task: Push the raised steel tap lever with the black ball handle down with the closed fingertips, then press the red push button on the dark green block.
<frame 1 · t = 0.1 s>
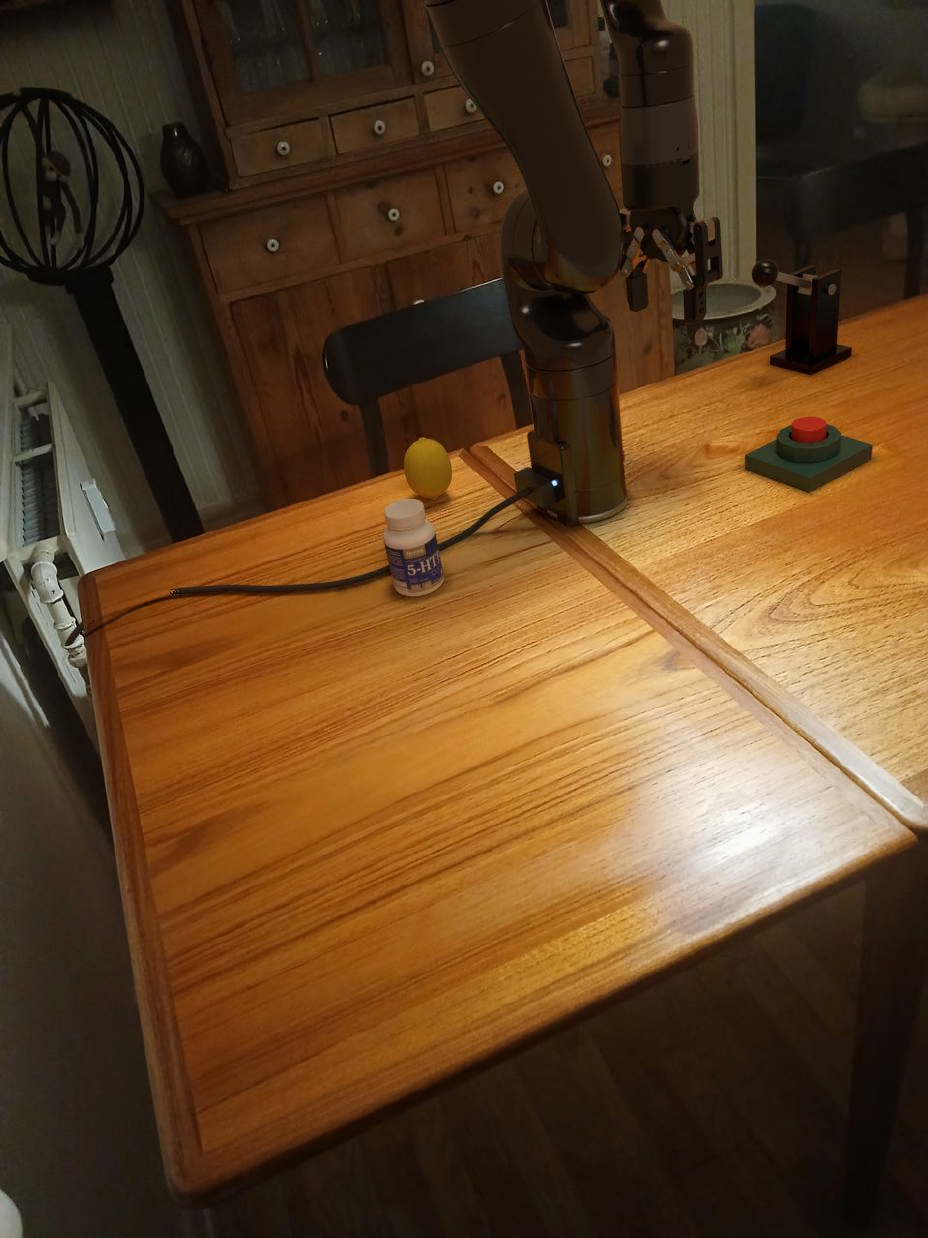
hand: (666, 316, 102), 17 cm above the table, tool pointing down, fingers open, 8 cm apart
lemon: (434, 501, 114), on the table
push button: (808, 430, 104), point 4 cm above the table, slide at 0.1 cm
tap lever: (789, 279, 121), point 12 cm above the table, hinge at 25.0°
pill bottle: (420, 585, 98), on the table
black lever stand: (810, 360, 130), on the table
button block: (807, 463, 106), on the table
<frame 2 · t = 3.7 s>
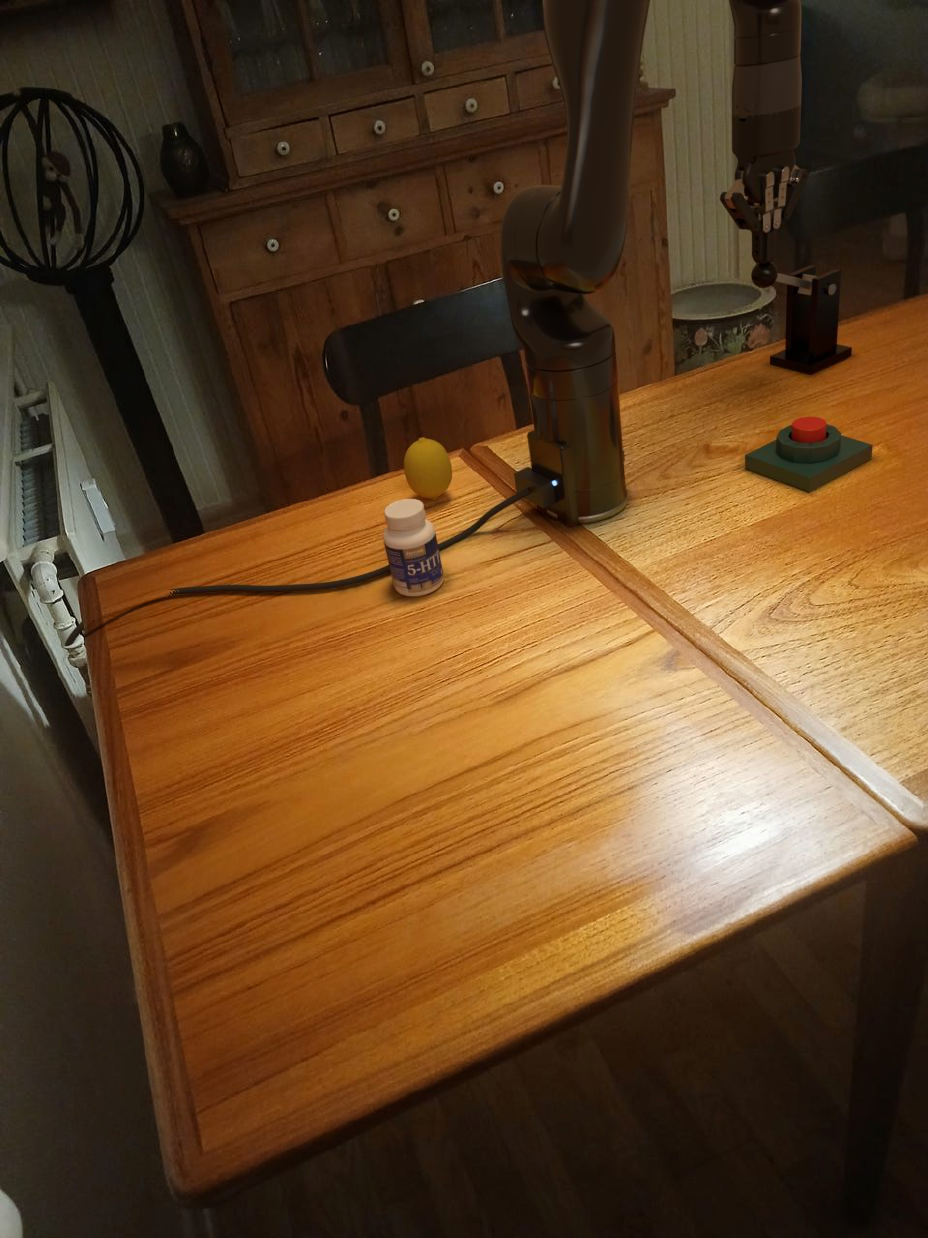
hand: (763, 261, 117), 16 cm above the table, tool pointing down, fingers closed
tap lever: (789, 280, 121), point 12 cm above the table, hinge at 23.9°, touching gripper
everything else where it was.
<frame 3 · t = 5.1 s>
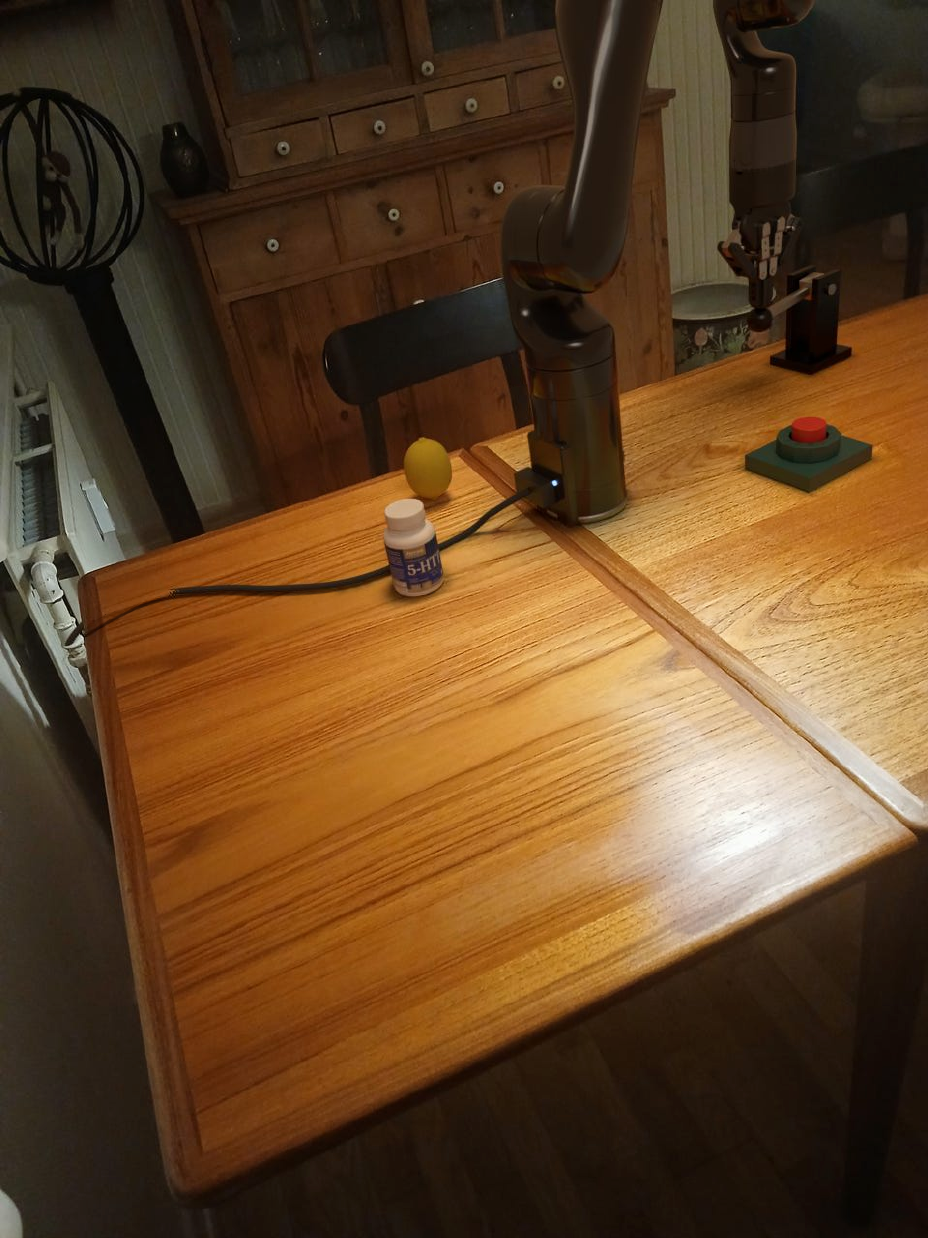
hand: (760, 306, 120), 10 cm above the table, tool pointing down, fingers closed
tap lever: (786, 302, 123), point 9 cm above the table, hinge at -7.9°, touching gripper
everything else where it was.
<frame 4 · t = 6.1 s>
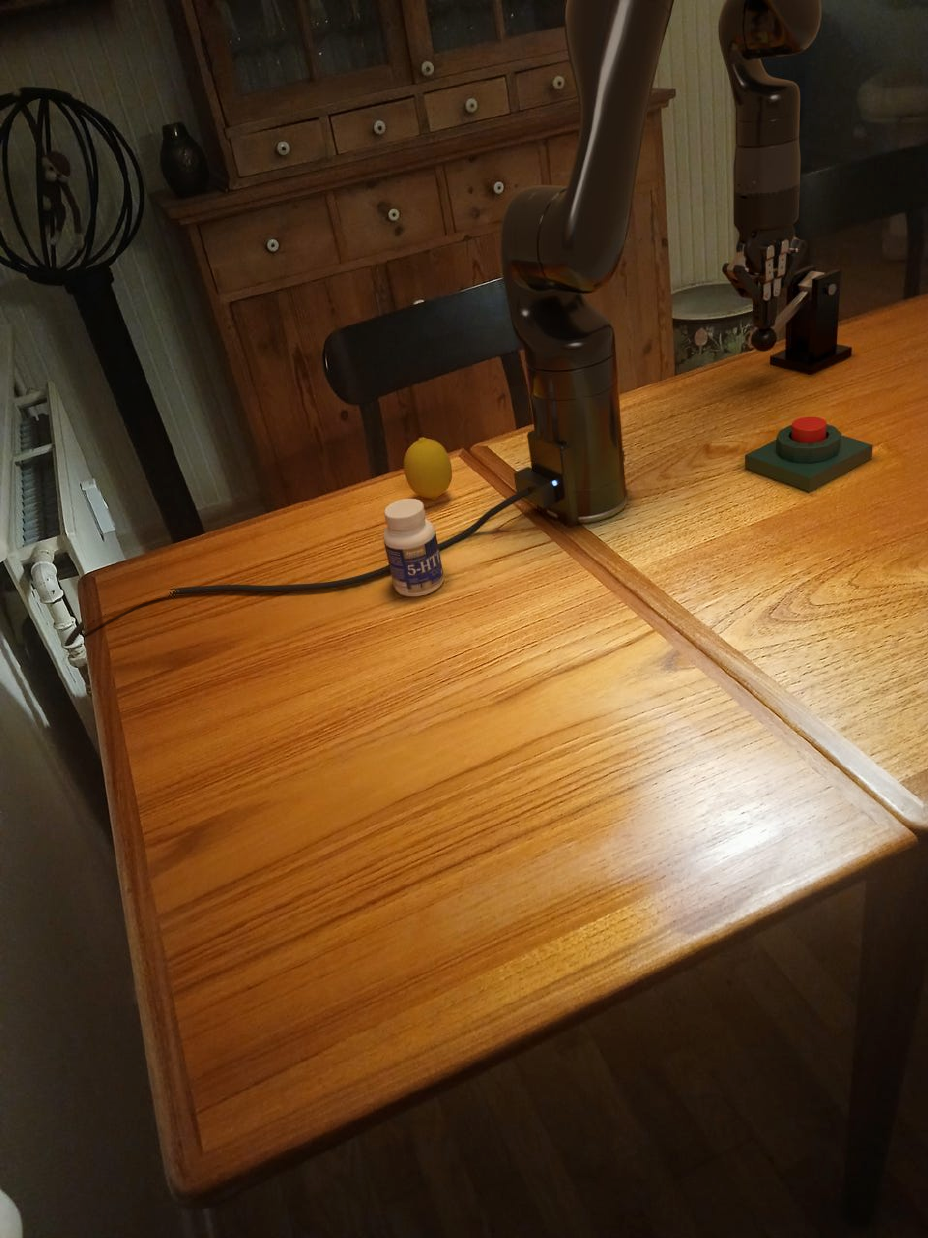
hand: (764, 326, 122), 7 cm above the table, tool pointing down, fingers closed
tap lever: (788, 312, 124), point 8 cm above the table, hinge at -24.6°, touching gripper
everything else where it was.
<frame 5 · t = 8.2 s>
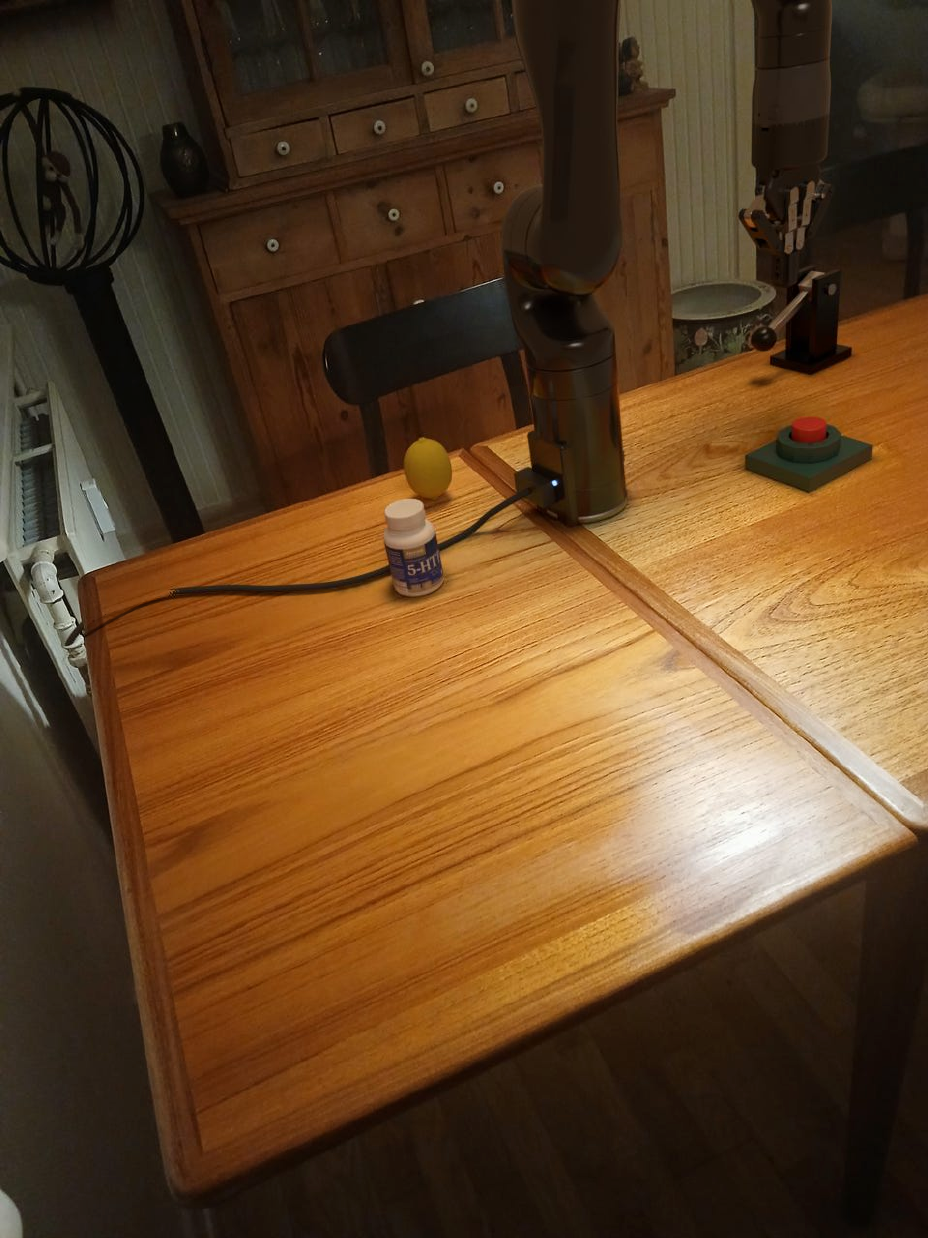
hand: (784, 285, 106), 16 cm above the table, tool pointing down, fingers closed
tap lever: (788, 312, 124), point 8 cm above the table, hinge at -24.7°
everything else where it was.
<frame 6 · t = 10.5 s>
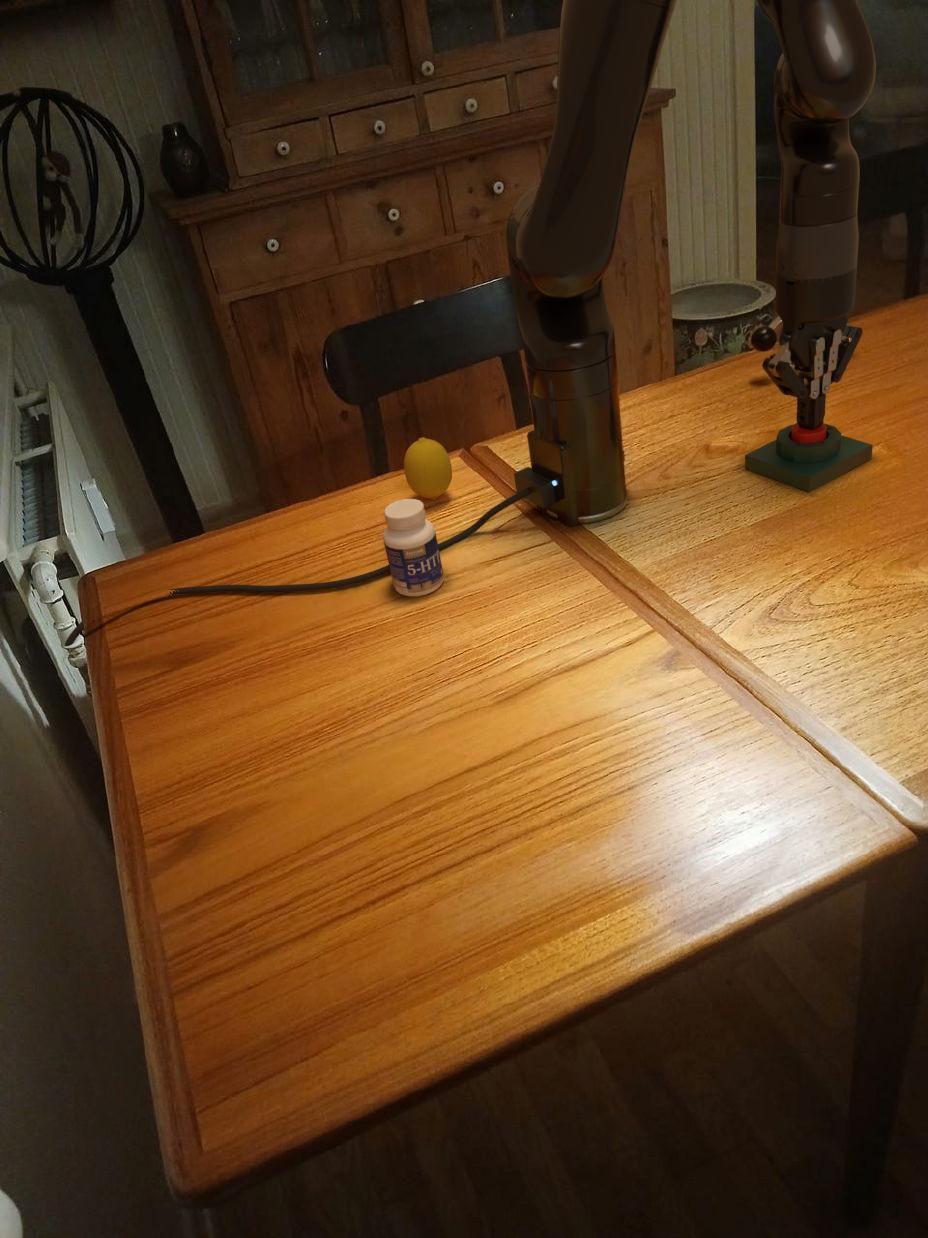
hand: (810, 426, 103), 4 cm above the table, tool pointing down, fingers closed
push button: (808, 434, 104), point 4 cm above the table, slide at -0.4 cm, touching gripper
everything else where it was.
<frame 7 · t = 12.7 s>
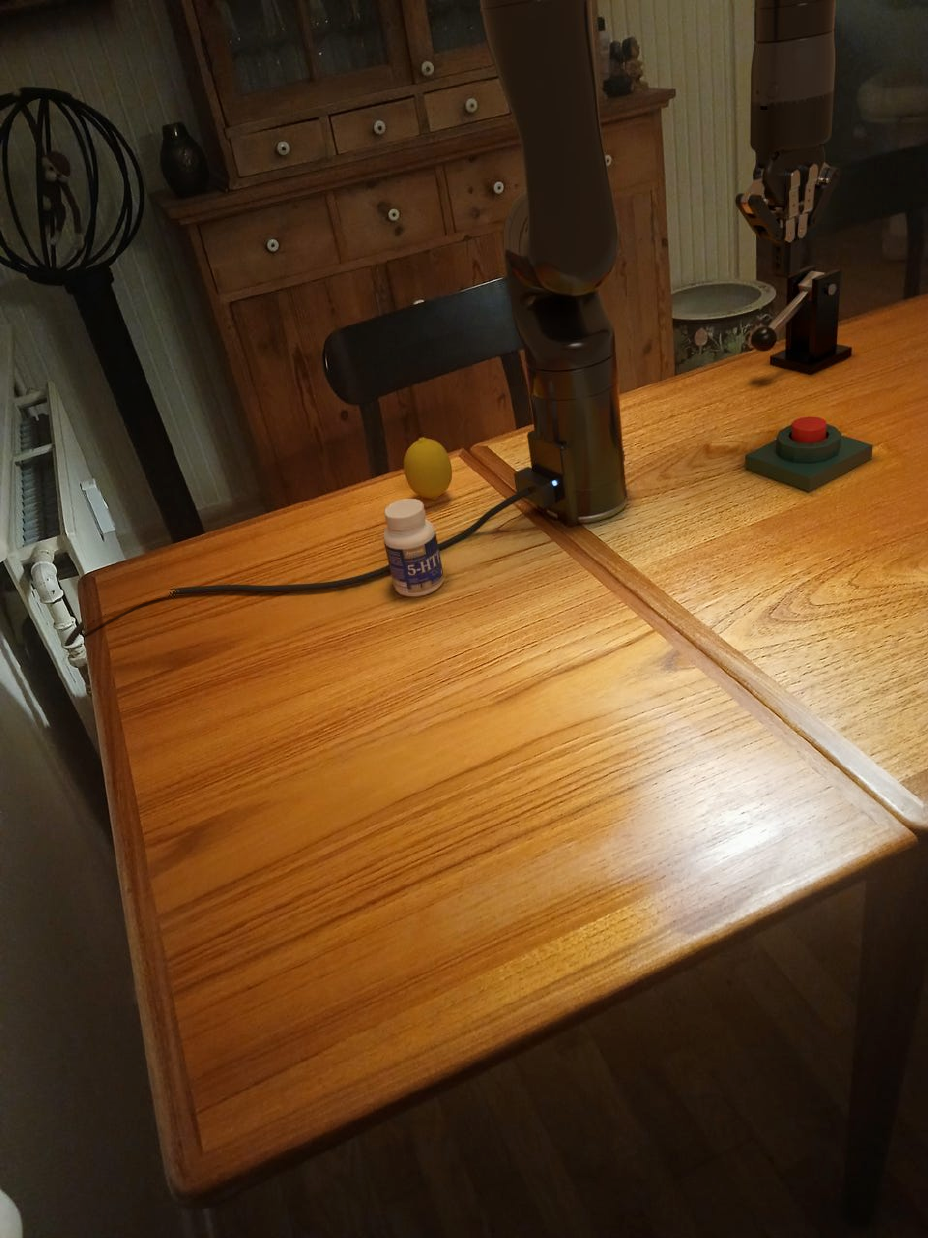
hand: (785, 275, 100), 19 cm above the table, tool pointing down, fingers closed
push button: (808, 430, 104), point 4 cm above the table, slide at 0.1 cm
everything else where it was.
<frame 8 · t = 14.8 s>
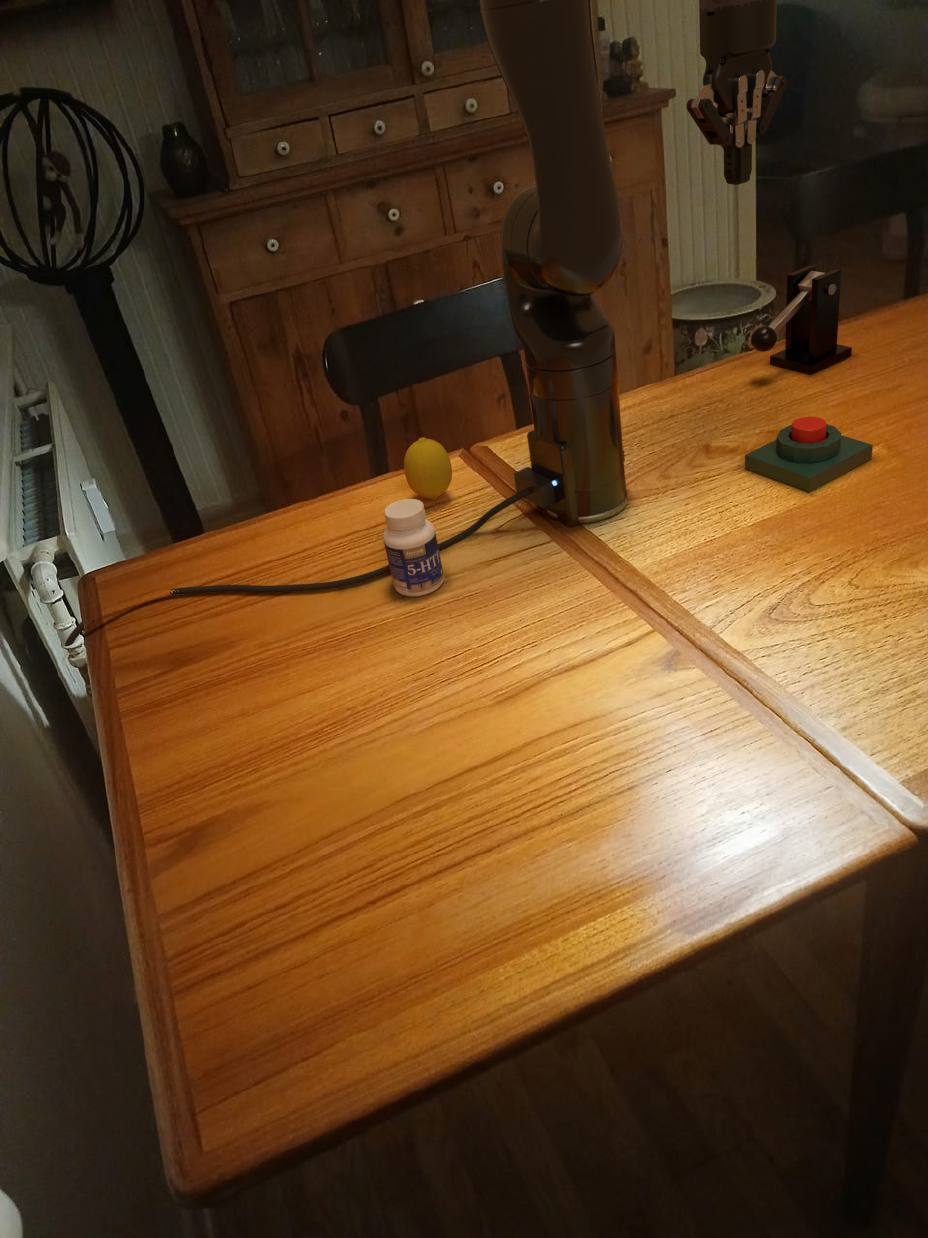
hand: (737, 182, 105), 27 cm above the table, tool pointing down, fingers closed
nothing on the table moved.
at the end: tap lever at -25° (first picture: +25°); push button pushed in 1.2 cm at the most during the clip, back to where it started at the end; push button slide at 0.1 cm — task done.
